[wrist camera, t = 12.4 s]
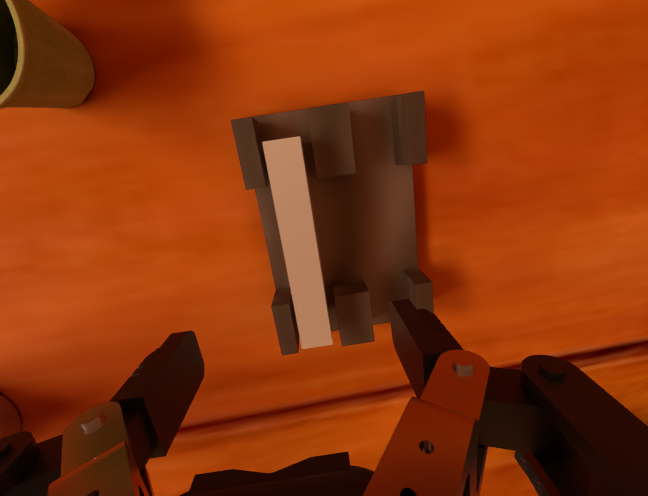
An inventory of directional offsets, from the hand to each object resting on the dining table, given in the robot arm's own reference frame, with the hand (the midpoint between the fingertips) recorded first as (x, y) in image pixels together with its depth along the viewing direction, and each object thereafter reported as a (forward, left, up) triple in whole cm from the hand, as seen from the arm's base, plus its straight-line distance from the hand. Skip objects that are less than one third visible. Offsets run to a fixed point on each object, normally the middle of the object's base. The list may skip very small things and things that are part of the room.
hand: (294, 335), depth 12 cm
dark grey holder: (+4, 0, -18) cm, 18 cm away
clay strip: (0, 0, -16) cm, 16 cm away
